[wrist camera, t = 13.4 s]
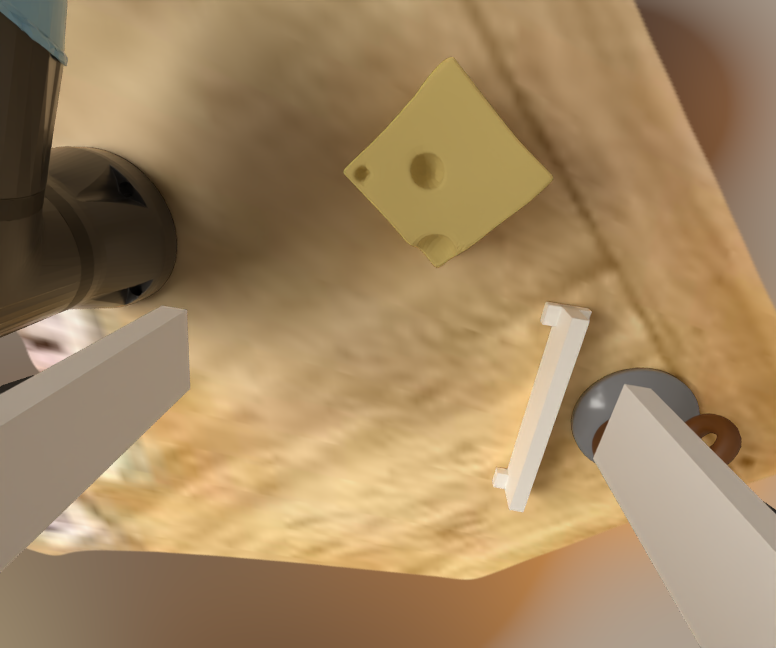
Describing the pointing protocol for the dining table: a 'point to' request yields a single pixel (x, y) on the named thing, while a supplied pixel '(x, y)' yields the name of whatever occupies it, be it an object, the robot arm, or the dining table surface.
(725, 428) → the mug
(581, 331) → the rail
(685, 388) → the disc
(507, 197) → the cheese
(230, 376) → the dining table surface
